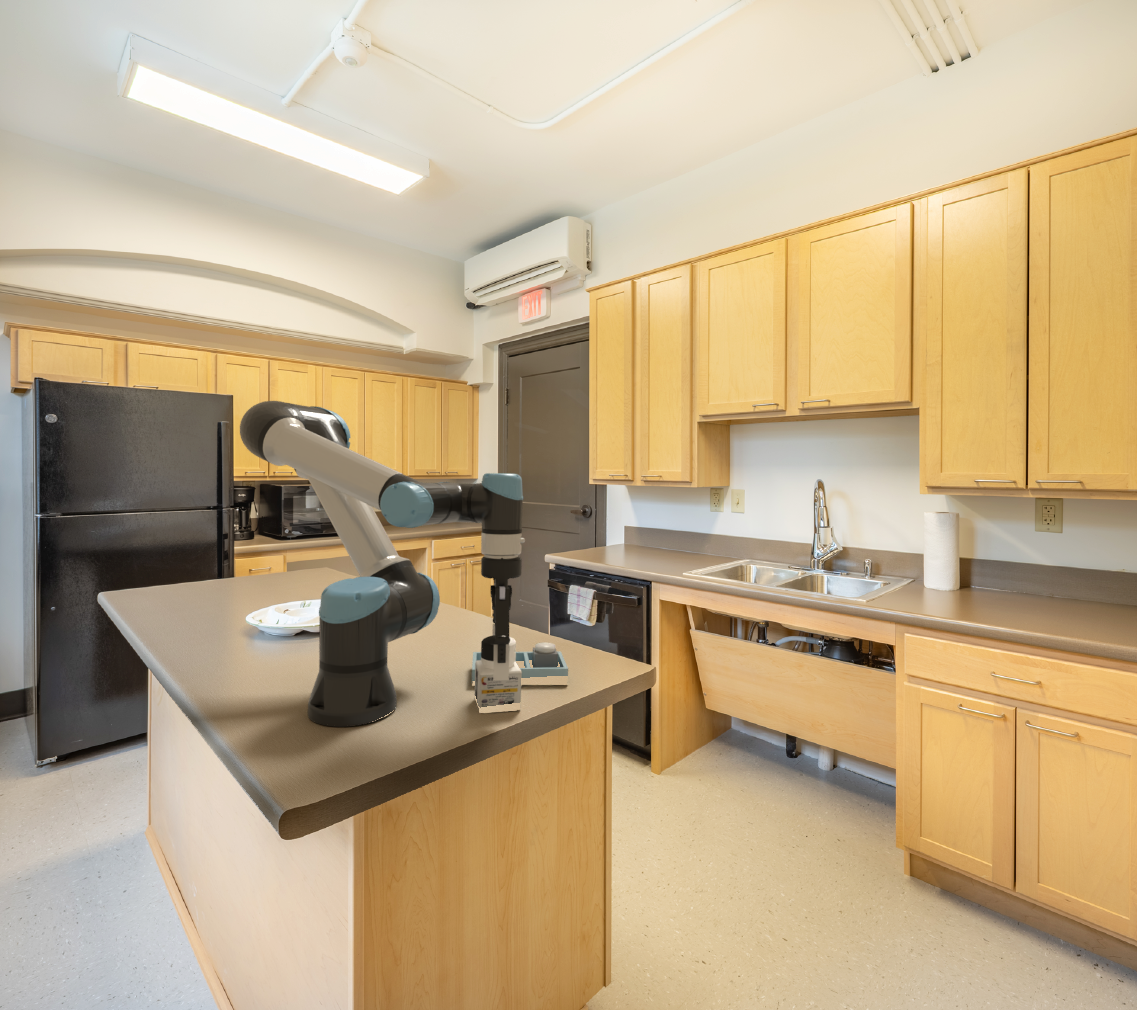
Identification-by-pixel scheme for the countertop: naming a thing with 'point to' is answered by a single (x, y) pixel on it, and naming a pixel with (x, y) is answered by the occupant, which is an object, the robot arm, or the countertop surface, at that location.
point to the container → (496, 690)
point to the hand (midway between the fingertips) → (499, 667)
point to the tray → (536, 661)
